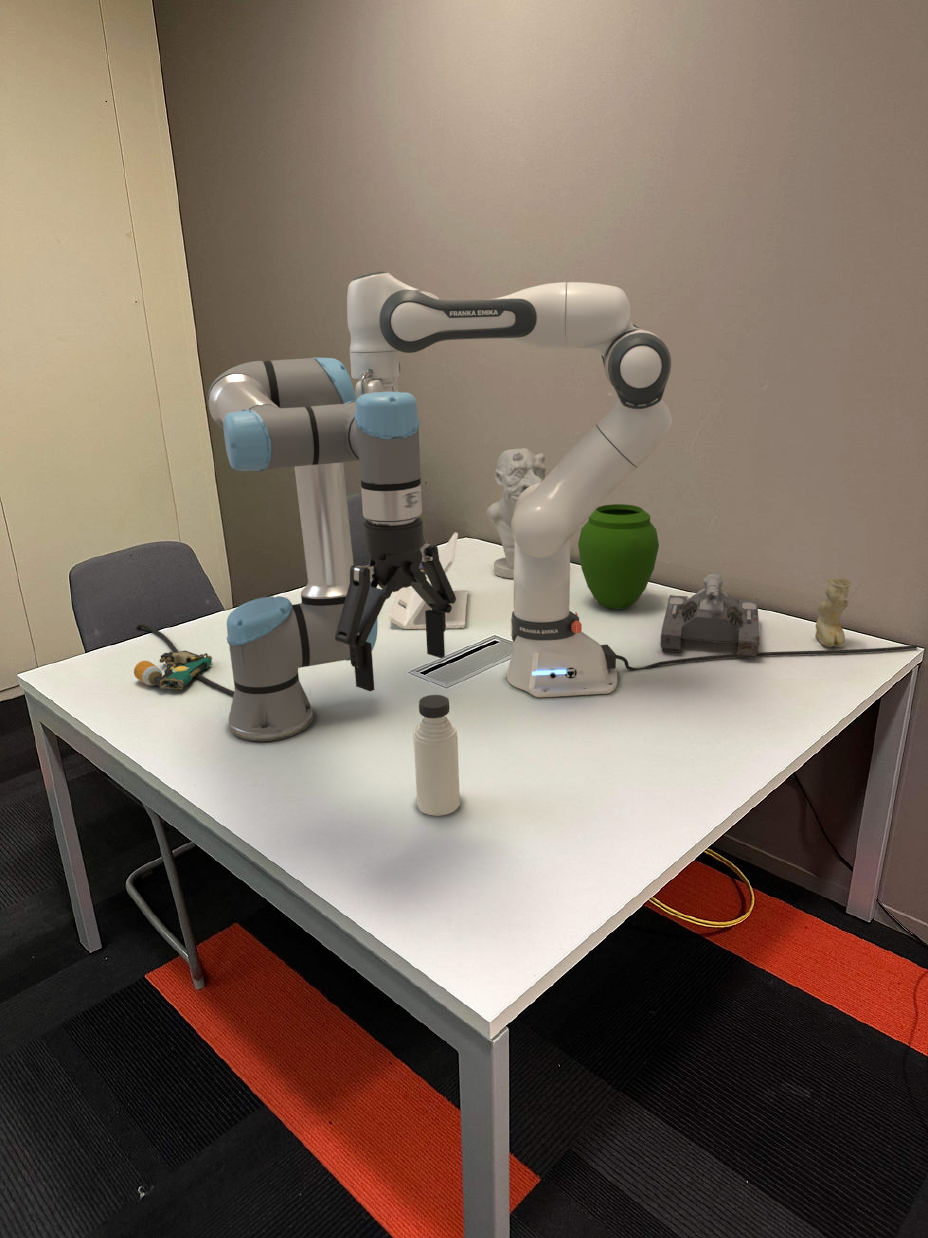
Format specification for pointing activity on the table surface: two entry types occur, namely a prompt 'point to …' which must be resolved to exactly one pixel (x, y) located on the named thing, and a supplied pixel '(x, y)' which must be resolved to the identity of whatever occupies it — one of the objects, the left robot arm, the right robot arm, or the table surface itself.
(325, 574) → the left robot arm
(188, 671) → the spray gun
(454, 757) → the bottle
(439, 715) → the cap
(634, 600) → the vase
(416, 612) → the tablet stand
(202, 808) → the table surface
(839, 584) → the sculpture
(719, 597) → the toy
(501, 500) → the bust sculpture
